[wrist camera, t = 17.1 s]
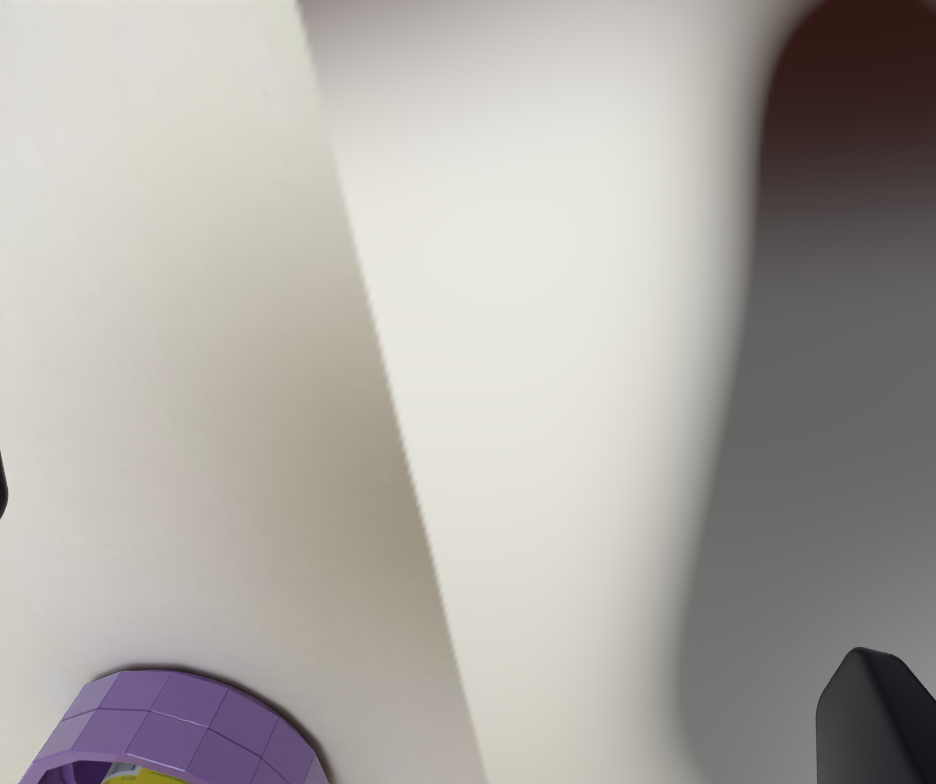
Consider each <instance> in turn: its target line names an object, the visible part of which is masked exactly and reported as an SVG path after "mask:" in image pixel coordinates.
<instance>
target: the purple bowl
mask: <svg viewBox="0 0 936 784" xmlns="http://www.w3.org/2000/svg"><path fill="white" fill-rule="evenodd" d="M113 762H119V763H130V764H133V765H137V766H140V767H143V768H147V769H150V770H153V771H157V772H160V773H163V774H166V775H170V776H173V777H176V778H180V779H183V780H185V781H187V782H189V783H191V784H329V782H328V780H327V778H326V775H325V773H324V771H323V769H322V766H321V764H320V762H319V760H318V758H317V755H316V753H315V751H314V750H313V749H312V748H311V747H310V746H309V745H308V743H307V742H306V741H305V739H304V738H303V737H302V736H301V734H300V733H299V732H298V731H297V730H296V729H295V728H294V727H293V726H292V725H291V724H290V723H289V722H288V721H287V720H285V719H284V718H283V717H282V716H281V715H279V714H278V713H277V712H275V711H274V710H273V709H271V708H270V707H269V706H267V705H266V704H264V703H262V702H261V701H259V700H257V699H256V698H254V697H252V696H250V695H248V694H247V693H245V692H243V691H241V690H239V689H236V688H234V687H232V686H229V685H227V684H225V683H222V682H219V681H216V680H213V679H210V678H207V677H204V676H200V675H196V674H192V673H187V672H180V671H174V670H161V669H152V670H139V671H120V672H117V673H114V674H112V675H109V676H106V677H103V678H101V679H98V680H95V681H93V682H90V683H87V684H86V685H85V686H84V687H83V689H82V690H81V692H80V693H79V695H78V696H77V698H76V699H75V700H74V702H73V703H72V705H71V706H70V708H69V709H68V711H67V712H66V714H65V715H64V717H63V718H62V720H61V721H60V722H59V724H58V725H57V727H56V728H55V730H54V731H53V733H52V734H51V736H50V737H49V739H48V740H47V742H46V743H45V744H44V746H43V747H42V749H41V750H40V752H39V753H38V755H37V756H36V758H35V759H34V761H33V762H32V764H31V765H30V767H29V768H28V770H27V771H26V773H25V774H24V776H23V777H22V779H21V780H20V782H19V783H18V784H101V782H102V781H103V779H104V777H105V776H106V774H107V772H108V771H109V769H110V767H111V766H112V764H113Z"/></svg>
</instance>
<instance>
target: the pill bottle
mask: <svg viewBox="0 0 936 784" xmlns="http://www.w3.org/2000/svg"><path fill="white" fill-rule="evenodd" d="M101 784H191V783H189V782H187V781H185V780H183V779H180V778H176V777H173V776H170V775H166V774H163V773H160V772H157V771H153V770H150V769H147V768H143V767H140V766H137V765H133V764H130V763H119V762H113V764H112V766H111V767H110V769H109V771H108V772H107V774H106V776H105V777H104V779H103V781H102V782H101Z"/></svg>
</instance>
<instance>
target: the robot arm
mask: <svg viewBox="0 0 936 784" xmlns="http://www.w3.org/2000/svg"><path fill="white" fill-rule="evenodd" d="M7 502H8V487H7V482H6V477H5V472H4V467H3V462H2V457H1V452H0V519H1V517H2V515H3V513H4V511H5V509H6V506H7ZM816 745H817V746H816V747H817V748H816V749H817V784H936V700H935V699H934V698H933V697H932V696H931V694H930V693H929V692H928V691H927V689H926V688H925V687H924V686H923V685H922V683H921V682H920V681H919V680H918V679H917V677H916V676H915V675H914V674H913V673H912V671H911V670H910V669H909V668H908V667H907V665H906V664H905V663H904V662H903V661H902V660H901V659H899V658H898V657H896V656H894V655H892V654H888V653H884V652H880V651H876V650H872V649H868V648H863V647H856V648H854V649H852V650H851V651H849V653H848V654H847V655H846V657H845V658H844V660H843V661H842V663H841V664H840V666H839V668H838V669H837V671H836V672H835V674H834V675H833V677H832V678H831V680H830V681H829V683H828V684H827V686H826V688H825V689H824V691H823V692H822V694H821V696H820V699H819V702H818V706H817V711H816Z"/></svg>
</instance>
